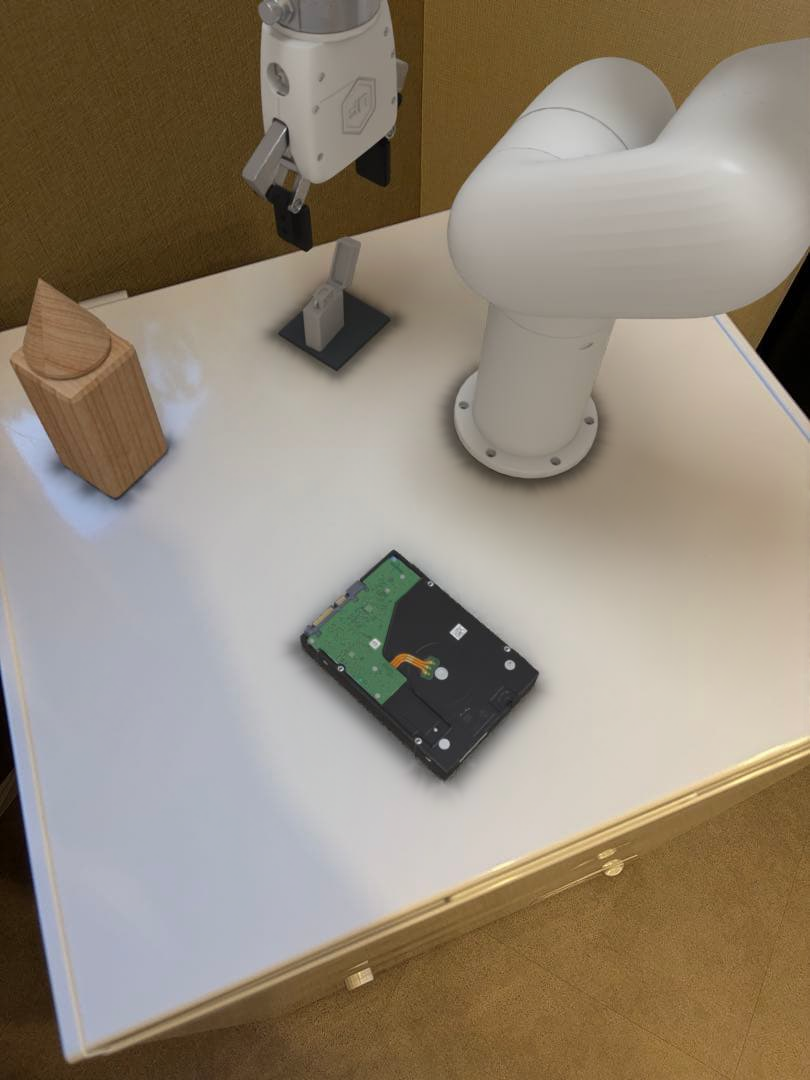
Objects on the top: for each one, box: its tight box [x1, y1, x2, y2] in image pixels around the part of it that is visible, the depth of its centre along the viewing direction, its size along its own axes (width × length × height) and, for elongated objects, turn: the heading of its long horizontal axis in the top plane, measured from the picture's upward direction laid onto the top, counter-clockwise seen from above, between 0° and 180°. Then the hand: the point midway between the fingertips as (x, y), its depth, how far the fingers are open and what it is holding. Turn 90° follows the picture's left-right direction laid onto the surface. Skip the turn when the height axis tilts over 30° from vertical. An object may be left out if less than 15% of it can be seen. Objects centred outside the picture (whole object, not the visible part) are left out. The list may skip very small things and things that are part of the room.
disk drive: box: [299, 549, 540, 781], centre depth 65 cm, size 10×3×15 cm
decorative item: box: [9, 277, 168, 498], centre depth 66 cm, size 7×7×20 cm
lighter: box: [302, 235, 362, 351], centre depth 80 cm, size 7×2×8 cm, turn 149°
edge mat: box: [277, 289, 391, 372], centre depth 83 cm, size 8×7×1 cm
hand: (335, 210), depth 71 cm, fingers open, 9 cm apart
